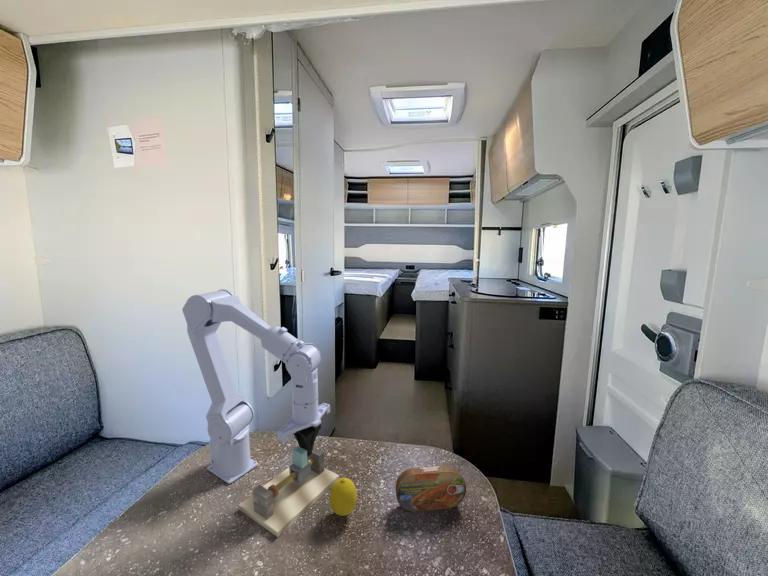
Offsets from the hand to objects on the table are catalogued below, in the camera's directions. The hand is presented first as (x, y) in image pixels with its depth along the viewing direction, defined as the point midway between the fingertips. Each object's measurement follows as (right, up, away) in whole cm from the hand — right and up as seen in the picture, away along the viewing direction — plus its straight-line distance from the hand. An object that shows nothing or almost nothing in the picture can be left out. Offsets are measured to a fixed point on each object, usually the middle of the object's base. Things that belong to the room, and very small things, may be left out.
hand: (306, 453), depth 76 cm
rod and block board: (-2, -7, -3) cm, 8 cm away
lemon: (+10, -9, -8) cm, 15 cm away
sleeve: (-1, -4, -1) cm, 5 cm away
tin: (+28, -9, -5) cm, 30 cm away
